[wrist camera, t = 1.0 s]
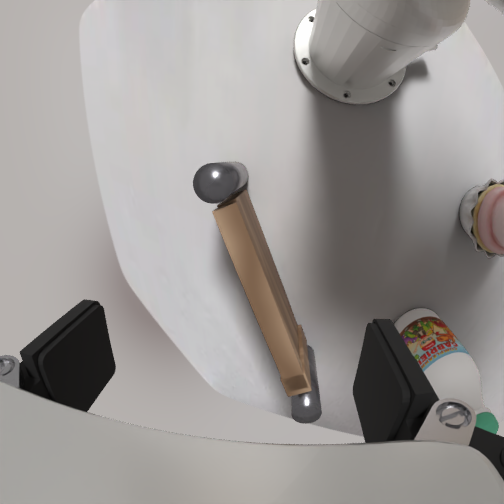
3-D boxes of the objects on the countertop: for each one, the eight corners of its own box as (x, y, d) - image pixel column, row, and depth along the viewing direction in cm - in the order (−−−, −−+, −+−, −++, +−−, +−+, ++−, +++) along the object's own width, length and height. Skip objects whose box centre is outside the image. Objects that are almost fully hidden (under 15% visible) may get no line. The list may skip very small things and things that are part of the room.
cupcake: (455, 165, 30) (504, 172, 21) (507, 184, 30) (556, 196, 20) (440, 241, 33) (484, 268, 24) (492, 252, 33) (537, 279, 23)
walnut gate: (249, 187, 33) (237, 199, 24) (306, 340, 37) (311, 390, 28) (228, 195, 33) (208, 210, 24) (287, 345, 38) (288, 396, 29)
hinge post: (242, 157, 33) (224, 157, 22) (252, 183, 33) (239, 195, 23) (216, 167, 33) (187, 172, 23) (226, 193, 34) (202, 209, 24)
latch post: (310, 341, 38) (317, 400, 28) (316, 359, 39) (324, 419, 29) (287, 348, 39) (288, 408, 28) (294, 365, 40) (296, 426, 29)
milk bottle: (447, 328, 36) (519, 425, 17) (406, 365, 38) (456, 474, 19) (420, 294, 35) (503, 395, 16) (376, 335, 37) (427, 455, 18)
